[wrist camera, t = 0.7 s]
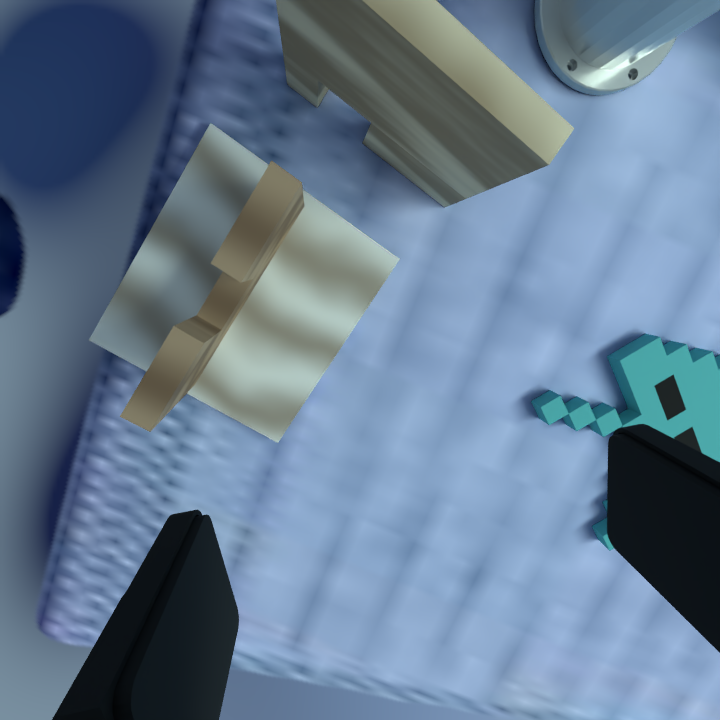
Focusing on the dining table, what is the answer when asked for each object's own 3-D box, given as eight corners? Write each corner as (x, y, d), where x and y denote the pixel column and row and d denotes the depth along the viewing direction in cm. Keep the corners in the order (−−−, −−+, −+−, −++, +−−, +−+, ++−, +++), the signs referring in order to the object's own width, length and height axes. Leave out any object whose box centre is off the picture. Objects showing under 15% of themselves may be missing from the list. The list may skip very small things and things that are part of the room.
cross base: (214, 128, 32) (164, 58, 21) (396, 259, 36) (434, 257, 25) (96, 337, 34) (-3, 372, 24) (278, 437, 38) (266, 505, 28)
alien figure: (595, 537, 46) (747, 449, 46) (609, 550, 44) (768, 458, 44) (528, 399, 41) (698, 299, 41) (540, 407, 39) (720, 301, 39)
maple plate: (300, 61, 31) (290, -135, 16) (458, 187, 35) (574, 128, 20) (287, 84, 32) (264, -86, 16) (444, 207, 35) (548, 164, 20)
